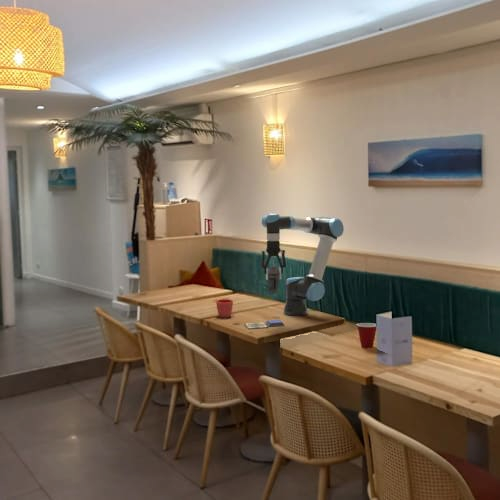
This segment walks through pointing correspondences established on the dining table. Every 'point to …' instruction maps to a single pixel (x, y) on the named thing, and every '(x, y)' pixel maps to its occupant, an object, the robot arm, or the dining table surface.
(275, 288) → the beverage cup
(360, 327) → the plastic cup
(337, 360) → the dining table surface
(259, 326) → the marked board
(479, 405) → the dining table surface
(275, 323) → the ink pad
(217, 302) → the flower pot
